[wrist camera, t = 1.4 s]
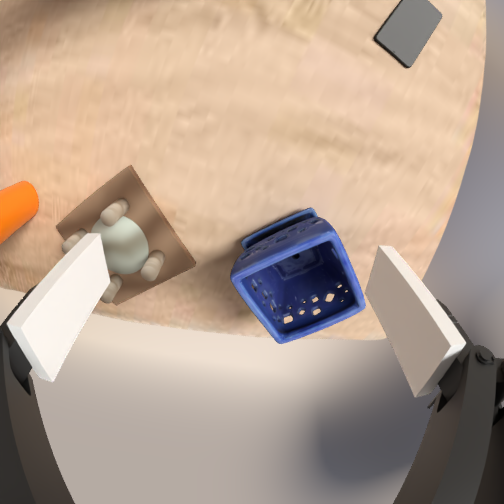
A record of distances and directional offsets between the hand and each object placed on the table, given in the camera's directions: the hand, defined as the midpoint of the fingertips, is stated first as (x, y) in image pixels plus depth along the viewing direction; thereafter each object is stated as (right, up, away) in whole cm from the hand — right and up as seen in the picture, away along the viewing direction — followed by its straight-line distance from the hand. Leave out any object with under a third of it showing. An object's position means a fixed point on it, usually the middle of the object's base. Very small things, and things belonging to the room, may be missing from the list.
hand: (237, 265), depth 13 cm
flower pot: (+7, +1, +31) cm, 31 cm away
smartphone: (+24, +34, +14) cm, 44 cm away
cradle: (-20, +2, +29) cm, 36 cm away
